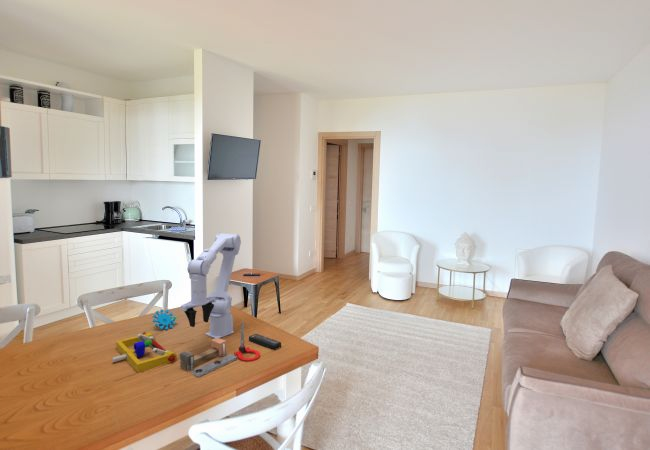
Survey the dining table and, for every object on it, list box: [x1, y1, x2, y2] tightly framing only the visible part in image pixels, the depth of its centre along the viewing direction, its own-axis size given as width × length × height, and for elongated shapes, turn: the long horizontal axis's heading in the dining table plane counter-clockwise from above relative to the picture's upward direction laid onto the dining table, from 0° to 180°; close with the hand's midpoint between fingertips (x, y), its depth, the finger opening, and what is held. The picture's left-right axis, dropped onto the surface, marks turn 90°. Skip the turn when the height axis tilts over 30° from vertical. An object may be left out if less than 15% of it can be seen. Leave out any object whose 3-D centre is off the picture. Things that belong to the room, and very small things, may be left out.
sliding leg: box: [210, 338, 227, 358], centre depth 152 cm, size 3×6×5 cm, turn 54°
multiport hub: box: [248, 333, 282, 351], centre depth 163 cm, size 4×14×2 cm, turn 55°
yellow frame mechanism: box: [111, 331, 178, 373], centre depth 150 cm, size 18×6×30 cm
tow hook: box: [233, 321, 261, 363], centre depth 150 cm, size 8×13×9 cm
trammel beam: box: [179, 348, 219, 372], centre depth 146 cm, size 17×6×5 cm, turn 144°
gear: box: [152, 309, 178, 331], centre depth 177 cm, size 11×6×10 cm
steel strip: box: [191, 353, 238, 378], centre depth 143 cm, size 17×4×1 cm, turn 144°
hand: (199, 324), depth 155 cm, fingers open, 6 cm apart
